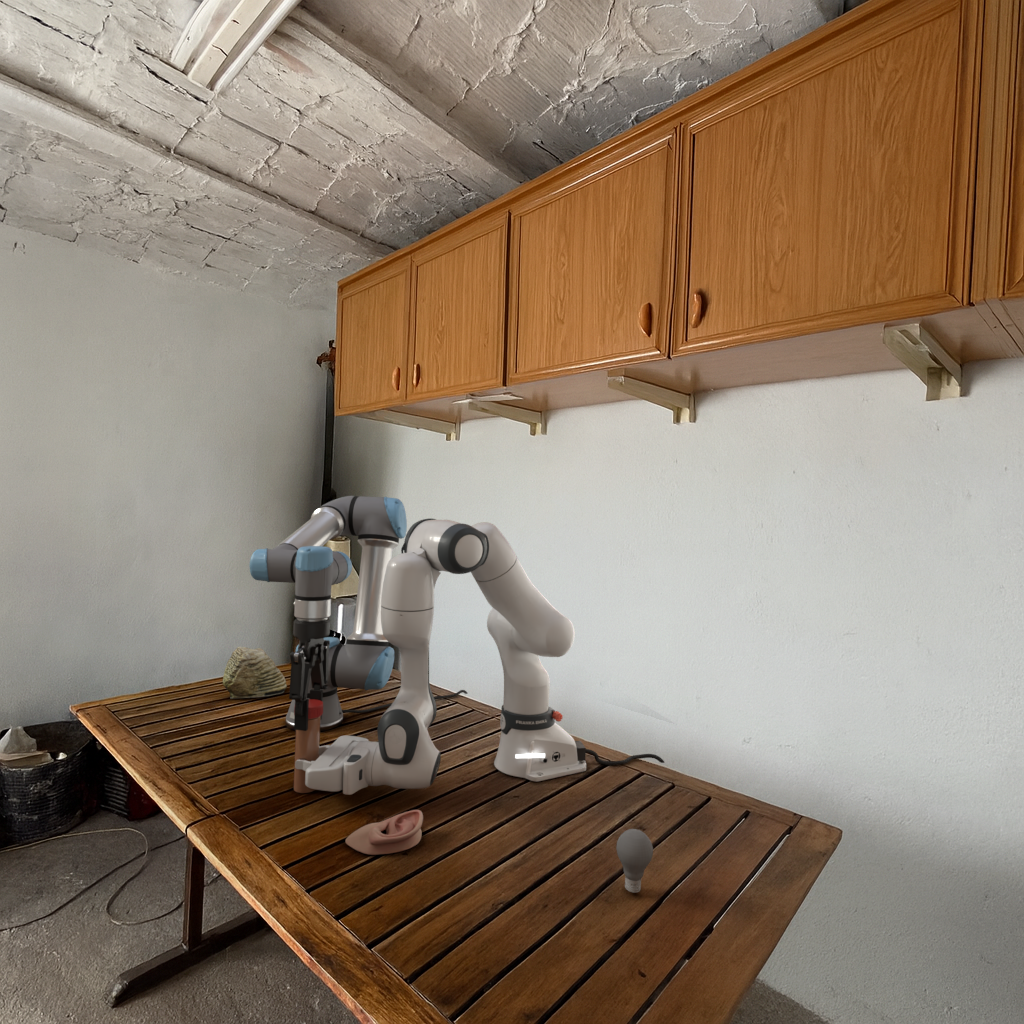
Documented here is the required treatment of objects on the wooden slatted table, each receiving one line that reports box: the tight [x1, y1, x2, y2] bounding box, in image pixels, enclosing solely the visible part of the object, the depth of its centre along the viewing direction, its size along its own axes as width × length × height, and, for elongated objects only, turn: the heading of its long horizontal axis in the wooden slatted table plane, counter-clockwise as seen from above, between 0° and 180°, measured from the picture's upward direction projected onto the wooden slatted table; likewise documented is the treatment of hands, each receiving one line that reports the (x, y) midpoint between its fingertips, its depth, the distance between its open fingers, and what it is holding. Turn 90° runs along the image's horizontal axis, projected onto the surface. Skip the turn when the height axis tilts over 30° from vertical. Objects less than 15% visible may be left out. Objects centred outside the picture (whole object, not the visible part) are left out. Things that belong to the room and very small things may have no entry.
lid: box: [294, 699, 323, 719], centre depth 137 cm, size 6×6×2 cm
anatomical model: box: [344, 809, 424, 856], centre depth 118 cm, size 13×4×12 cm
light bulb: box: [615, 828, 654, 894], centre depth 106 cm, size 6×6×10 cm
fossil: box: [222, 646, 288, 699], centre depth 198 cm, size 9×18×15 cm, turn 132°
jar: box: [293, 716, 321, 794], centre depth 137 cm, size 5×5×18 cm
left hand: (308, 724), depth 137 cm, fingers closed on lid, 6 cm apart
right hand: (302, 757), depth 137 cm, fingers closed on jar, 5 cm apart
